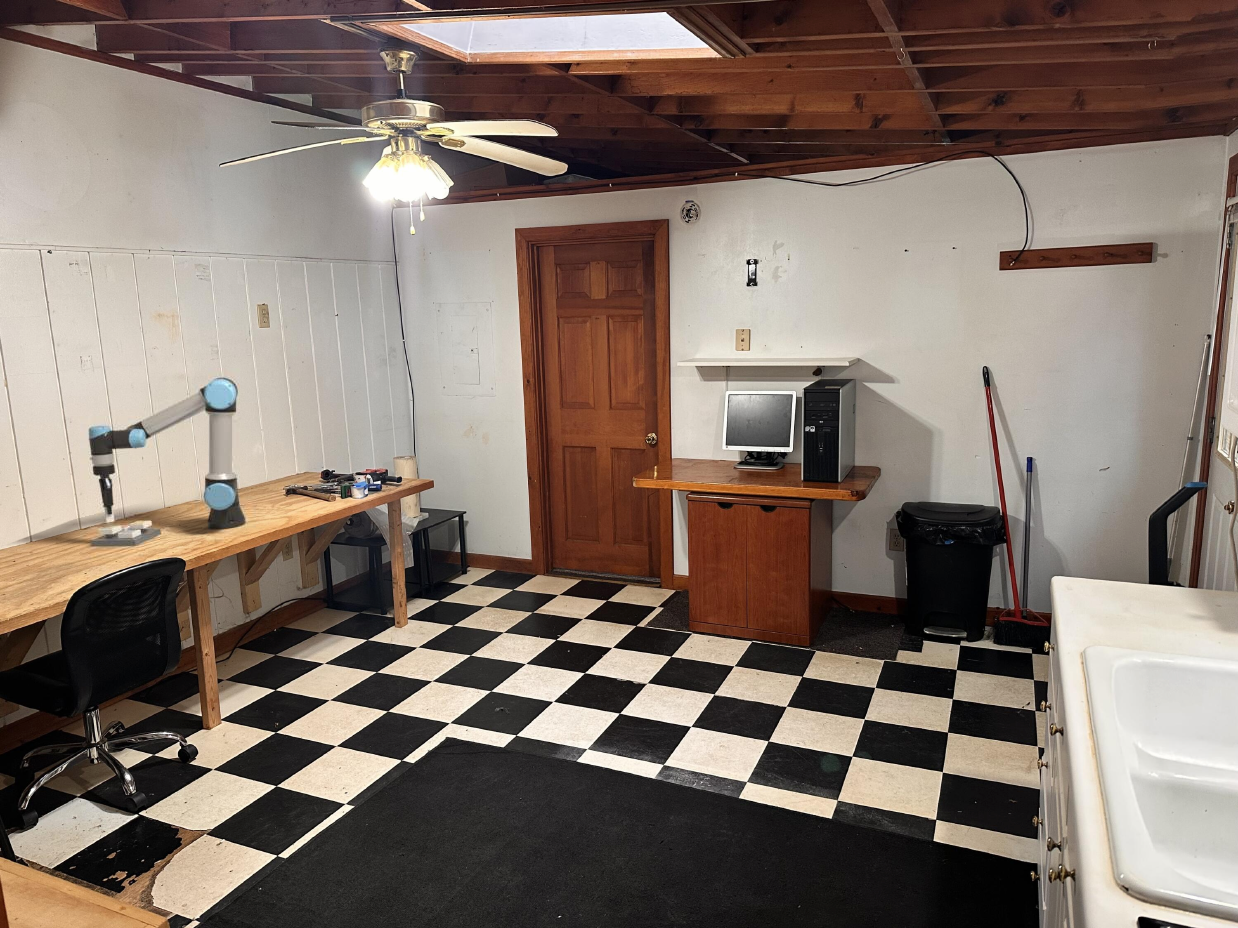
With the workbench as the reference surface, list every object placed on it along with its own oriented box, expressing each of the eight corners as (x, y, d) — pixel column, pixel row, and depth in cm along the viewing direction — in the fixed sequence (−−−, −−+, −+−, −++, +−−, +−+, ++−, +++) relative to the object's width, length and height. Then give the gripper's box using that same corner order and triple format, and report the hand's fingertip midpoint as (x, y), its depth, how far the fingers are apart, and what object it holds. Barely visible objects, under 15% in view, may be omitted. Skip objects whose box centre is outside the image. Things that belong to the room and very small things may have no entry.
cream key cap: (152, 529, 360) (151, 520, 360) (144, 533, 355) (143, 523, 354) (139, 529, 361) (137, 520, 360) (130, 533, 355) (129, 523, 354)
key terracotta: (134, 534, 361) (133, 524, 360) (126, 537, 355) (124, 527, 355) (121, 534, 361) (119, 524, 361) (112, 537, 356) (111, 528, 355)
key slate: (141, 539, 353) (140, 529, 352) (133, 542, 347) (132, 532, 346) (128, 539, 353) (126, 529, 352) (119, 543, 347) (118, 533, 347)
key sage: (122, 535, 353) (120, 525, 352) (113, 538, 347) (112, 528, 346) (108, 535, 353) (107, 525, 352) (99, 539, 348) (98, 529, 347)
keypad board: (160, 533, 363) (160, 528, 362) (135, 545, 345) (134, 540, 345) (119, 534, 364) (118, 528, 363) (92, 546, 346) (91, 540, 346)
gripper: (89, 463, 347) (96, 520, 351) (95, 467, 337) (102, 526, 341) (110, 461, 352) (117, 517, 356) (117, 465, 342) (124, 523, 346)
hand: (110, 521), depth 349 cm, fingers closed
